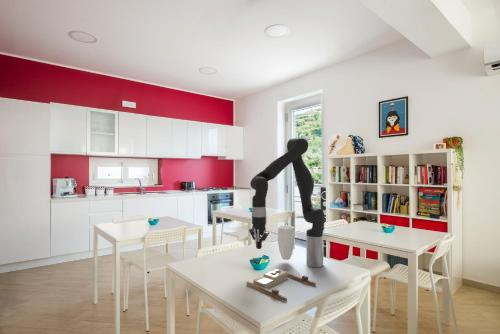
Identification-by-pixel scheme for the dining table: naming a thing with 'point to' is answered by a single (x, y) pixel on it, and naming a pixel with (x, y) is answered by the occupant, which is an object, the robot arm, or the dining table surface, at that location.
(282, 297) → the brown flat piece
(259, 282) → the electrical outlet
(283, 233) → the cup
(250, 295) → the dining table surface
